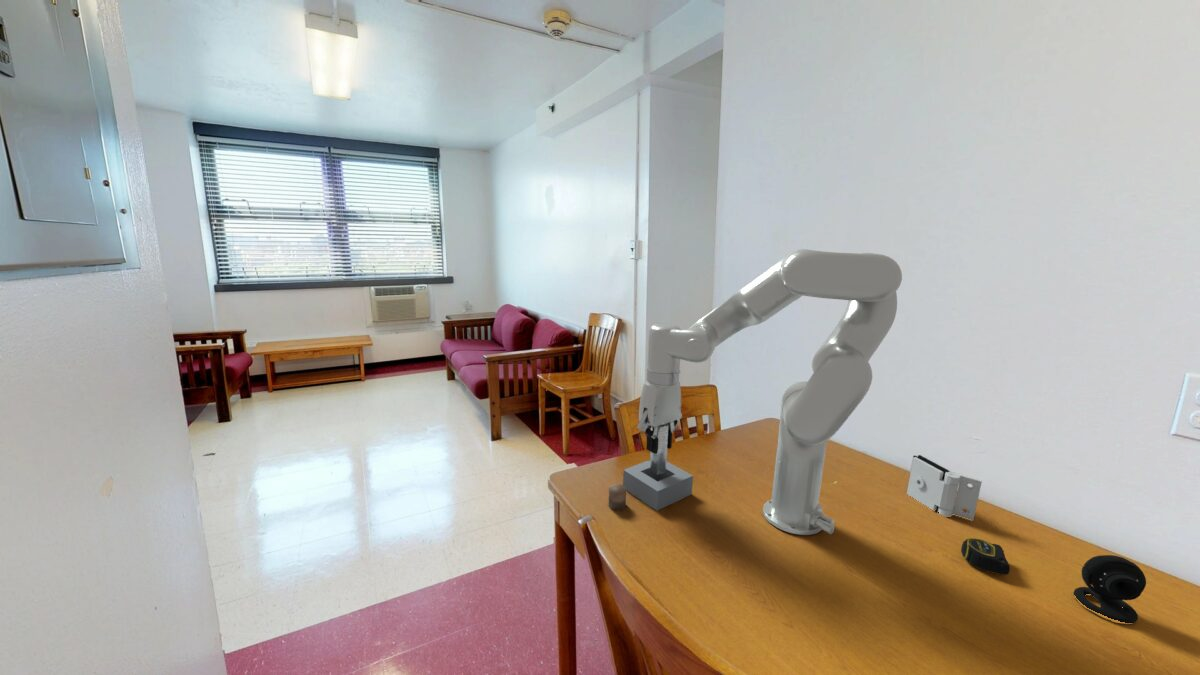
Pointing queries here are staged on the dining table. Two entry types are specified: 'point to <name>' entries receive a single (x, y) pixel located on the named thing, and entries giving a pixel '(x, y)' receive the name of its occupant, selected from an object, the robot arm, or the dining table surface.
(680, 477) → the hole block
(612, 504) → the walnut pin
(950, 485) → the hinge
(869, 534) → the dining table surface
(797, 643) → the dining table surface
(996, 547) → the tape measure
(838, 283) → the robot arm
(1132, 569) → the webcam
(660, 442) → the steel pin
